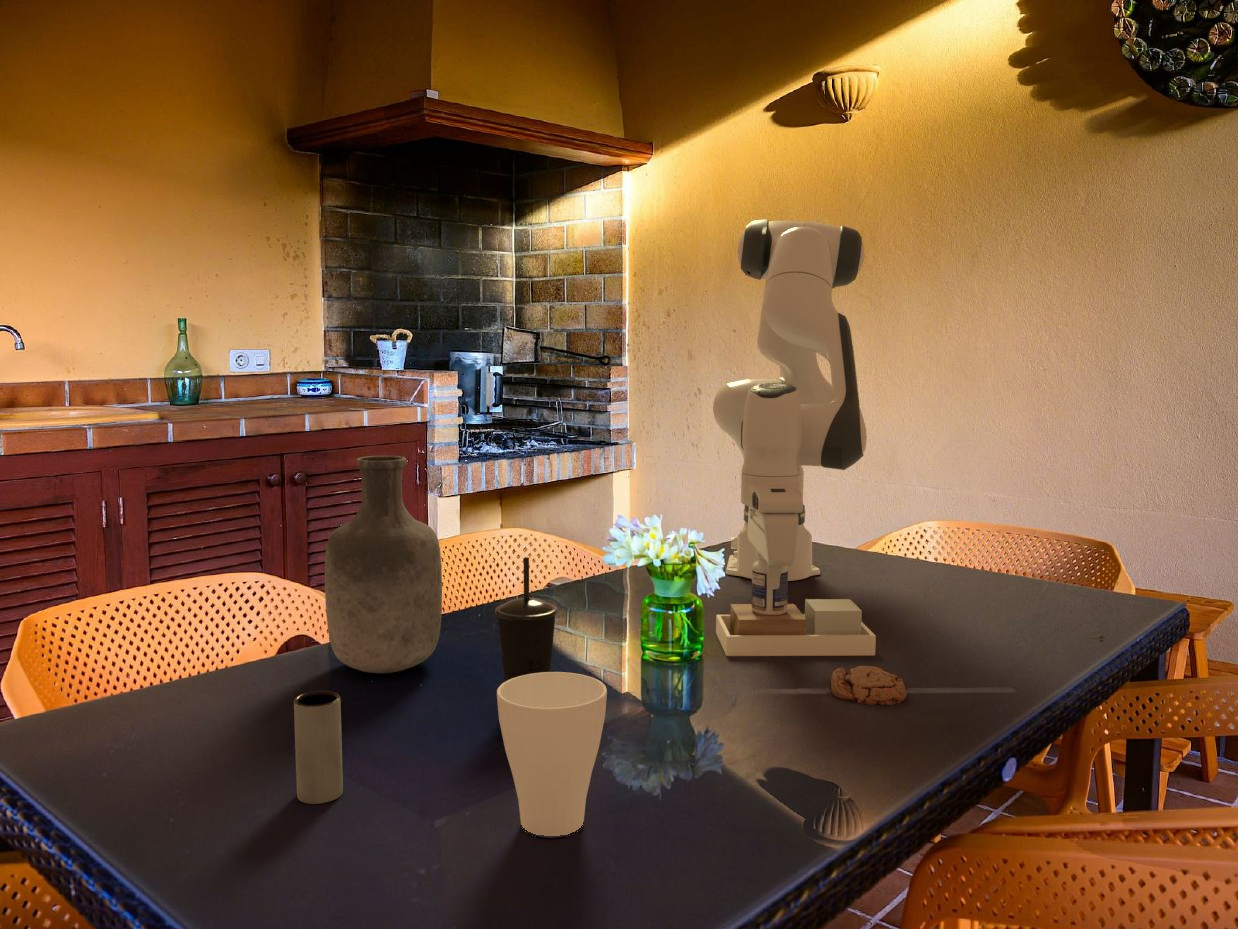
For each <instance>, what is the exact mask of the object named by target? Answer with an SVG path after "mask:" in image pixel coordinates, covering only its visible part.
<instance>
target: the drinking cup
mask: <svg viewBox="0 0 1238 929" xmlns="http://www.w3.org/2000/svg"><path fill="white" fill-rule="evenodd" d="M558 610H559V609H558V607H557V606H556V605H555V604H553V603H550V602H547V601H545V600H544V599H541V598H535V597H530V557H526V556H525V557H523V597H518V598H515V599H512V600H509V601H507V602H505V603H502V604H500V605H498V606H497V607H496V608H495V611H494V612H495V615H496V616H497V623H498V632H499V642H500V649H501V650H500V651H501V660H502V662H501V664H502V670H503V672H502V673H503V680H504V682H506V681H508V680H509V679H512V678H515V677H518V676H522V675H527V674H533V673H542V672H551V670H552V669H551V668H552V659H553V658H552V656H553V647H554V636H555V635H554V634H555V624H556V623H555V622H556V616H557V614H558ZM504 682H503V683H504Z"/></svg>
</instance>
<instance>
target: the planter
mask: <svg viewBox="0 0 1238 929" xmlns="http://www.w3.org/2000/svg"><path fill="white" fill-rule="evenodd" d="M341 708H342V707H341V696H340V694H339V693H337V692H334V691H330V690H316V691H314V690H313V691H309V692H306V693H302V694H300V695H297V696H296V697H295V698H294V700H293V711H294V712H293V714H294V715H293V718H294V719H293V720H294V721H293V722H294V748H295V774H296V776H295V778H296V779H295V780H296V794H297V795H296V797H297V799H298V801H300V802H302V803H304V804H307V805H308V804H310V805H318V804H326V803H329V802H332V801H334V800H337V799H339V798H340V797H341V796H342V794H343V792H344V790H343V786H344V784H343V779H344V778H343V748H342V746H343V745H342V744H343V743H342V741H343V740H342V709H341Z"/></svg>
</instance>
